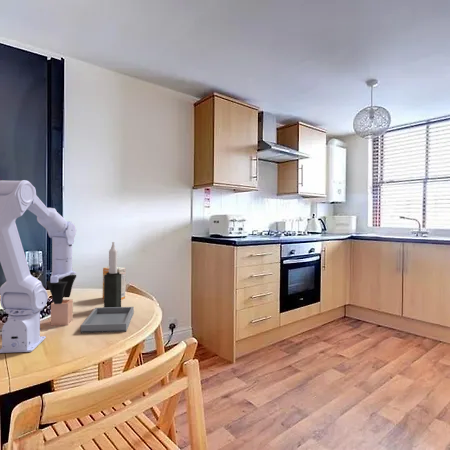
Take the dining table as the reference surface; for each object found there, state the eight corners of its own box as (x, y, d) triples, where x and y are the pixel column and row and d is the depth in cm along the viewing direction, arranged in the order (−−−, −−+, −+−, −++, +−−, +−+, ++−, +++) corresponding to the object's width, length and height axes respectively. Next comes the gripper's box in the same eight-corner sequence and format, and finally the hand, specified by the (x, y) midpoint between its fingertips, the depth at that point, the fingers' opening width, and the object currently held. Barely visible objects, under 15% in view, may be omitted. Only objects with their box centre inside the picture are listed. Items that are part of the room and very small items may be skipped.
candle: (115, 310, 118) (115, 242, 118) (102, 309, 119) (103, 242, 119) (122, 306, 123) (123, 241, 123) (110, 305, 124) (110, 241, 124)
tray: (126, 331, 98) (126, 323, 98) (80, 333, 96) (80, 325, 96) (133, 313, 116) (133, 306, 116) (95, 314, 114) (95, 307, 114)
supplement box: (101, 299, 134) (102, 267, 133) (109, 296, 138) (109, 265, 138) (119, 301, 131) (119, 269, 131) (125, 298, 136) (126, 267, 136)
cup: (67, 325, 103) (67, 303, 102) (50, 325, 102) (50, 303, 102) (72, 320, 108) (72, 299, 107) (56, 320, 107) (56, 299, 106)
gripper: (68, 261, 97) (68, 306, 98) (81, 255, 112) (81, 294, 112) (42, 261, 96) (43, 307, 97) (60, 255, 111) (59, 294, 111)
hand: (62, 300), depth 104 cm, fingers open, 7 cm apart
